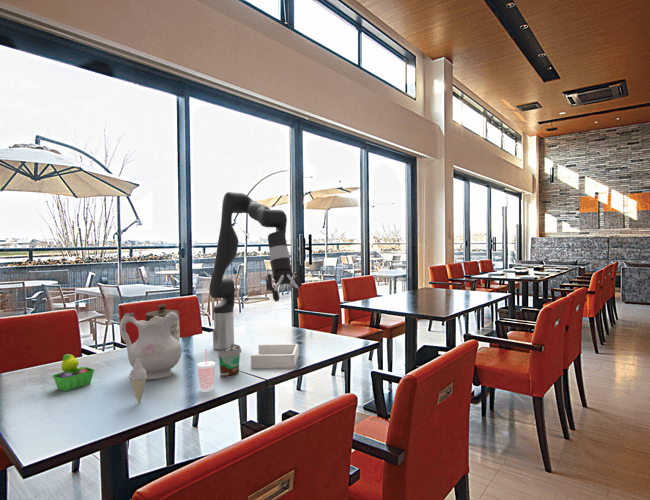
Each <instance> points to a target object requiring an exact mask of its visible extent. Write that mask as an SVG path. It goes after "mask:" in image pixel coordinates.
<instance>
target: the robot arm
mask: <svg viewBox="0 0 650 500" xmlns="http://www.w3.org/2000/svg"><path fill="white" fill-rule="evenodd" d="M233 214H248V216H249V217H250V218H251V219H253V220H255V221H256V222H258V223H259V224H260V226H262V227H265V228H275V231H274V232H271V233H269V234H268V235H267V242H268V250H269V259H270V265H271V271H272V274H270V273H268V274H266V275H265V284H266V285H265V287H266V290H267V292H271V293H272V294H271V295H272V298H273V301H274V302H279V301H280V299H279V292H278V289H279V287H280V286H282V285H288V286H290V287H291V289H292V293H293V294H292V295H293V299H294V300H296V299H297V300H298V299H299V297H300V293H299V288H300V287H302V286H303V283H302V279H301V274H300V271H296V272H295V271H294V272H292V264H291V259H290V258H291V257H290V252H289V249H288V244H287V238H286V237H287V236H286V233H287V223H288V219H287V215H286V213H285V212H284V211H283V210H281V209H271V208H270V207H268V206H266V205H265V204H262V203H259V202H257V201H255V200H254V199H252V198H251V197H250V196H249V195H247V194H245V193H243V192H235V191H234V192H233V191H228V192H226V193H225V194H224V195H223V199H222V207H221V218H220V219H221V221H220V230H219V234H218V235H219V236H218V240H217V247H216V254H215V262H214V266H213V269H212V274H211V278H210V283H209V291H208V292H209V296H210V297H211V298H212V299H222V300H221V301H220V302H219V303H218V304H215V305H214V307H213V329H212V343H213V344H212V349H213V350H221V351H222V350H223V351H224V350H225V349H227V348H230V347H231V344H235V324H234V321H235V320H234V307H235V291H236V288H235V287H236V286H235V283H234V280H233V279H232V278H230V277H225V278H224V275H225V272H226V270H227V269H228V268H229V266H230V265H231V264H232V262H233V261H234V260H235V258H236V257H237V253H238V248H239V238H238V236H237V235H238V234H237V233H236V231H235V229H234V226H233V222H232V221H233V220H232V218H233ZM273 281H274V282H273Z"/></svg>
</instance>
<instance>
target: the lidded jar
mask: <svg viewBox="0 0 650 500" xmlns="http://www.w3.org/2000/svg"><path fill="white" fill-rule="evenodd" d="M157 307H158V308H157V309H158V310H154V311H149V312H146V313H145V321H149V320H150V319H152V318H153V317H155V316H159V317H164V316H166V315H167V314H168V313H169V312H175V313H176V314H178V316H179V317H180V313H179V310H176V309H167V305H166V304H165V303H164V304H163V303H161V304H159V305H158V306H157ZM170 333H171V335H172V337H174V338H175V339H176V340H178V341H179V342H180V343H181V338H180V337H181V334H180V319H179V320H178V321H176V322H174V323H173V324H172V326H171V328H170Z"/></svg>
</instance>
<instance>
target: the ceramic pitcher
mask: <svg viewBox="0 0 650 500" xmlns="http://www.w3.org/2000/svg"><path fill="white" fill-rule="evenodd" d="M134 315H135V313H134V312H130V313H129V312H127V313H124V314H123V316H122V318H121V320H120V323H119V335H120V336H121V337H122V340H123V342H124V344H126V352H127V357H128V358H127V359H128V362H129V364H130V366H131V368H133V366H134V364H135V361H136V359H137V357H138V359H139V361H140V363H141V364H142V367H143V368H144V369H145V370H146V376H147V378H146V381H148V380H157V379H166V378H170V377H172V376H173V375H174V374H173V373H172V371H171V369H173V368H174V367H176V365H177V364H178V362H179V361H180V359H181V356H182V351H183V350H182V344H181V341H180V342H179V341H178V340H176V339H175V338H174V337H172V335H171V333H170V328H171V326H172V324H173V323H174V322H176V321H178V320H179V321H180V315H179V316H178V314H176V313H175V312H169V313H168V314H167V315H166V316H164V317H159V316H155V317H153V318H152V319H150V320H149V321H146V320H144V319H143V320H137V319H136V318H135V316H134ZM128 323H132V324H133V325H135V327H136V328H137V331H138V338H137V339H136V341H135V342H133V343H132V342H131V339H130V336H129V334H128V333H127V331H126V330H127V329H126V326H127V324H128Z"/></svg>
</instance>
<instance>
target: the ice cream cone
mask: <svg viewBox="0 0 650 500" xmlns="http://www.w3.org/2000/svg"><path fill="white" fill-rule="evenodd" d="M129 376H130V377H129V381H130V382H131V386H132V389H133V391H134V395H135V397H136V401H137V403H138V404H141V402H142V397H143V394H144V391H145V390H144V389H145V387H146V386H145V385H146V382H147V380H146V378H147V376H146V370H145V369H144V368H143V367H142V364H141V363H140V361H139V359H138V357H137V359H136V361H135V364H134V366H133V367H132V369H131V370H130V373H129Z"/></svg>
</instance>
